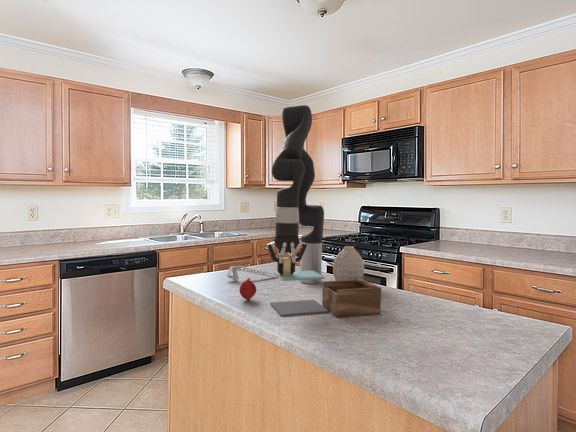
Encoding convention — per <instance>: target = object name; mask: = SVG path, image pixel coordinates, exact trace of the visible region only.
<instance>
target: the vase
mask: <svg viewBox="0 0 576 432" xmlns="http://www.w3.org/2000/svg"><path fill="white" fill-rule="evenodd" d="M332 275H333V277H334V281H340V280H354V277H359V278H361V279H363V277H364V275H365V264H364V260H363V258H362V256H361V254H360V253H359V251H357V250H356V249H355V246H350V245H348V246H346V245H345V246H344V247H343V249H342V250H340V251H339V252H338V254H337V255H336V257H335V258H334V260H333V264H332Z"/></svg>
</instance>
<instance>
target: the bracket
mask: <svg viewBox="0 0 576 432" xmlns="http://www.w3.org/2000/svg"><path fill="white" fill-rule="evenodd" d="M242 268H243V269H242ZM241 271H242V272H247V273H250V274H255V275H261V276H264V277H268V278H274V279H277V278H278V277H277V276H276V275H275V273H272V272H268V271H261V270H257V269H253V268H250V267H246V266H242V265H235V266H234V265H231V266H230V267H229V269H228V271H227V273H226V275H225V276H226V277H227V278H230V279H232V280H233V281H235V282H238V280H239V279H240V278H239V275H238V272H241ZM231 273H232V275H231ZM272 275H273V276H272Z"/></svg>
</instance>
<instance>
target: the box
mask: <svg viewBox="0 0 576 432" xmlns="http://www.w3.org/2000/svg"><path fill="white" fill-rule="evenodd" d="M321 299H322V300H321V301H322V304H321V305H322V306H323V307H324V308H326V309H327V310H328V311H329V313H330V314H332V315H333V316H334V317H335V318H337V319H341V318H353V317H364V316H376V315H381V307H382V306H381V305H382V302H381V301H382V287H381V286H379V285H376V284H374V283H372V282H370V281H368V280H365V279H363V278H362V279H361V278H359V277H354V280H340V281H336V280H326V281H325V280H323V281H322V298H321Z"/></svg>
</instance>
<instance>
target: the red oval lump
mask: <svg viewBox="0 0 576 432" xmlns="http://www.w3.org/2000/svg"><path fill="white" fill-rule="evenodd" d="M256 293H257V287H256V284H255V283H254V282H253V281H252V280H251V277H248V278H246V280H244V281H243V282H242V283H241V285H240V286H239V294H240V296H241V297H242V298H243V299H244V300H246V301H250V300H251V299H252V298H253V297H254V296H255V295H256Z"/></svg>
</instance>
